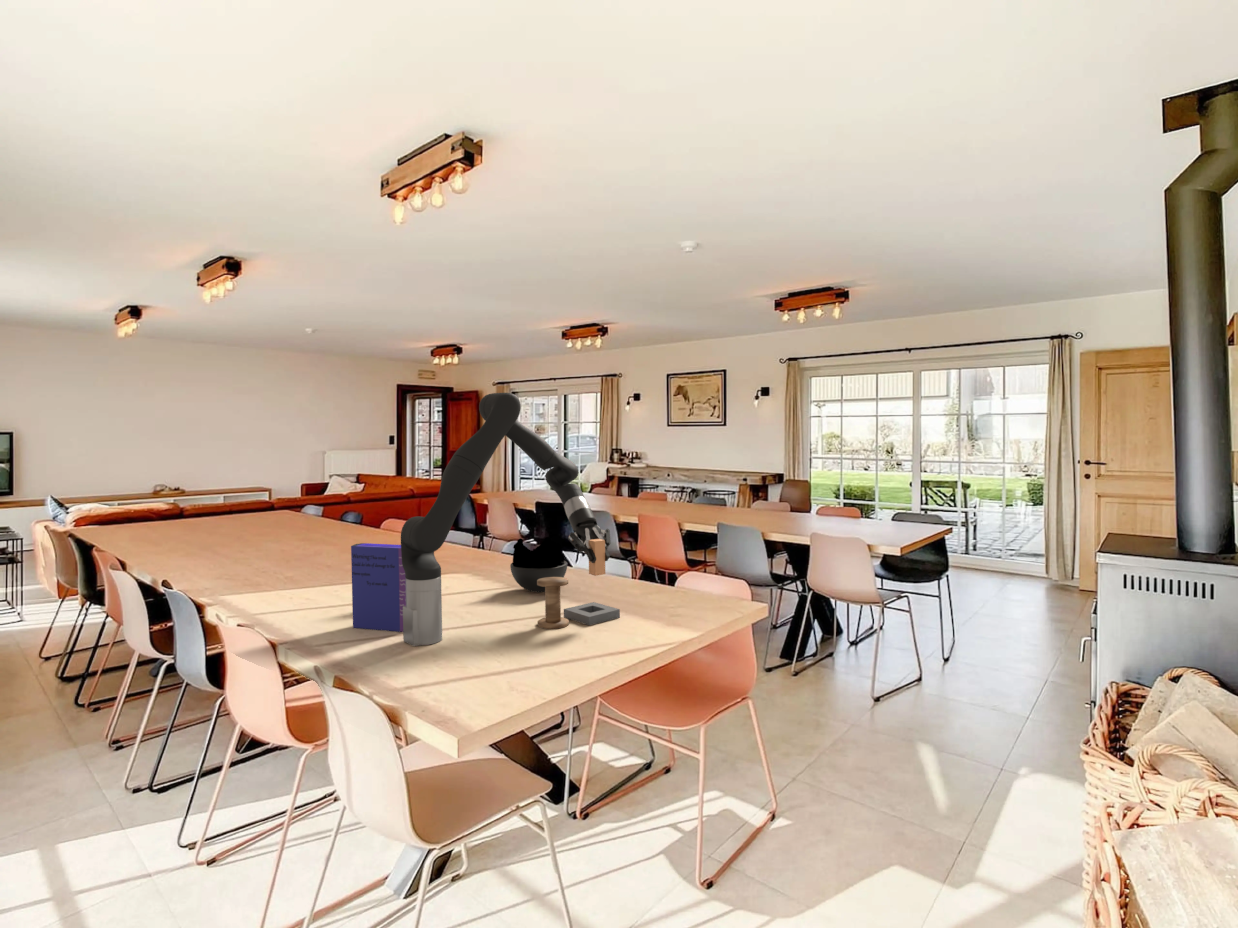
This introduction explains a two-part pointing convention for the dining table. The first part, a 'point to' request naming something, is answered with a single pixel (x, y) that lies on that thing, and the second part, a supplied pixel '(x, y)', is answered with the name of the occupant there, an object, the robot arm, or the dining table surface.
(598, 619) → the block with square hole
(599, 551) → the orange rectangular block
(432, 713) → the dining table surface
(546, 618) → the bobbin
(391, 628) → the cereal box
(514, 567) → the bowl of black rocks
